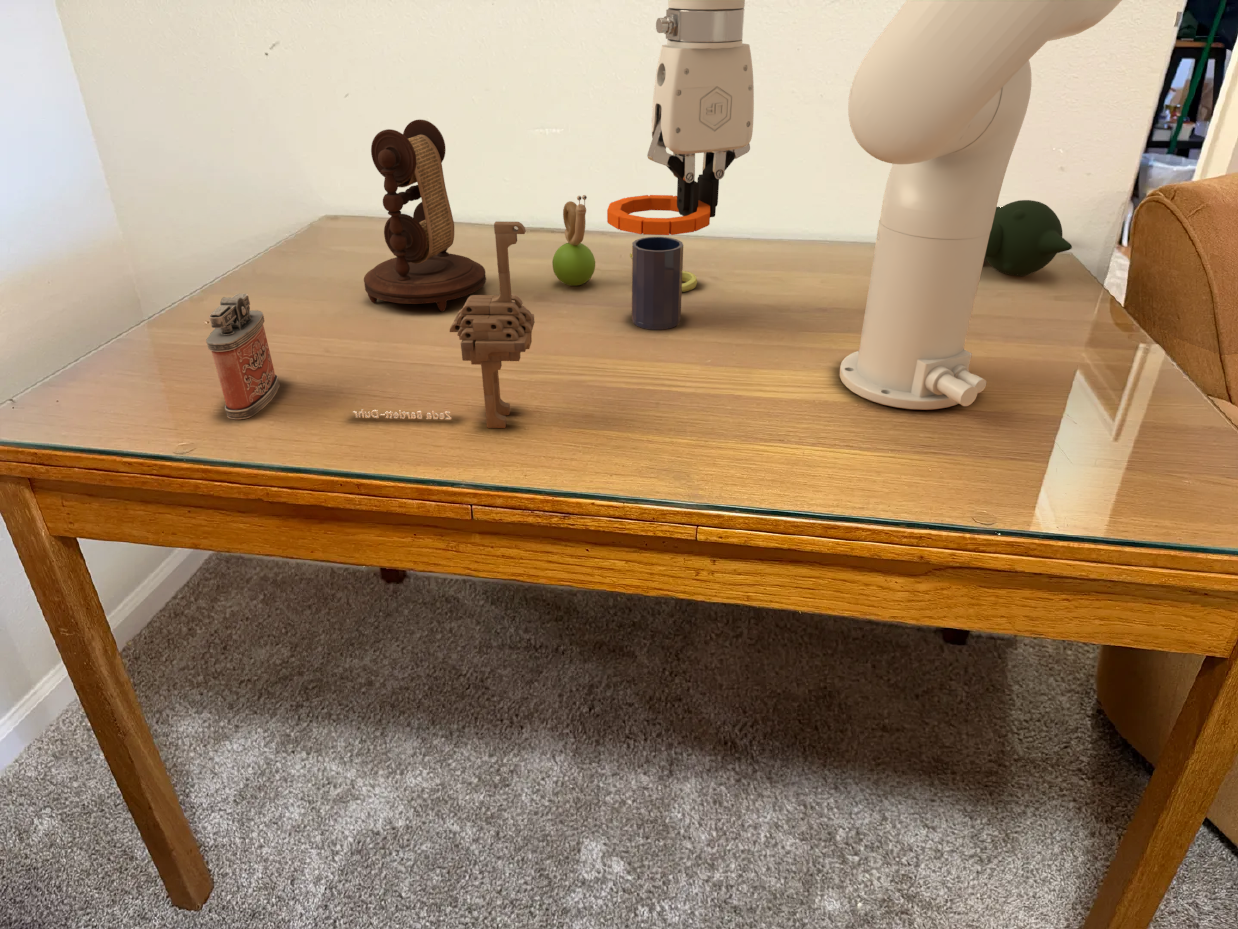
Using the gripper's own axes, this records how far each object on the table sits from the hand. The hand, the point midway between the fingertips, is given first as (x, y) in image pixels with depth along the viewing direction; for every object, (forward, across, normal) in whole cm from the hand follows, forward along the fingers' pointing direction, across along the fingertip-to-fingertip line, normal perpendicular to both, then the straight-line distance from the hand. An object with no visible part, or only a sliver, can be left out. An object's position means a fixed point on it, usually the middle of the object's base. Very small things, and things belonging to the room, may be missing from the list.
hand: (696, 214), depth 94 cm
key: (+12, +2, +13) cm, 17 cm away
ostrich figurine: (+12, -33, -14) cm, 38 cm away
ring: (0, -5, 0) cm, 5 cm away
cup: (+12, -5, 0) cm, 13 cm away
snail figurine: (+12, -9, +15) cm, 21 cm away
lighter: (+12, -49, -2) cm, 50 cm away
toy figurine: (+8, +41, +2) cm, 42 cm away
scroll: (+12, -27, +20) cm, 36 cm away
